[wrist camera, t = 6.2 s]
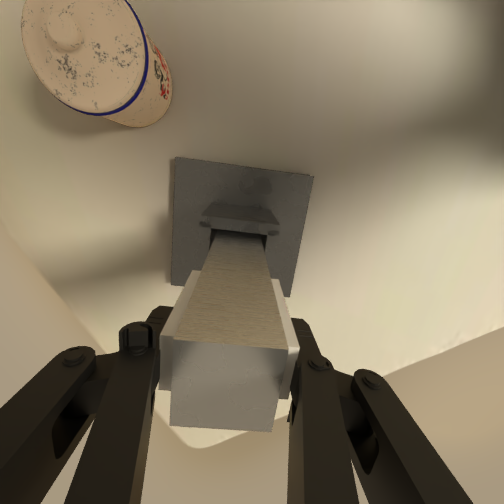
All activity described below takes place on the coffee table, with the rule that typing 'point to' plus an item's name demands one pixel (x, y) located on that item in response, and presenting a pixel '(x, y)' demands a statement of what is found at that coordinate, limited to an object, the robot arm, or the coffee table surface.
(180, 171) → the stand base
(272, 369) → the column
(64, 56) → the teacup with lid
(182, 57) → the coffee table surface
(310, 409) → the robot arm
